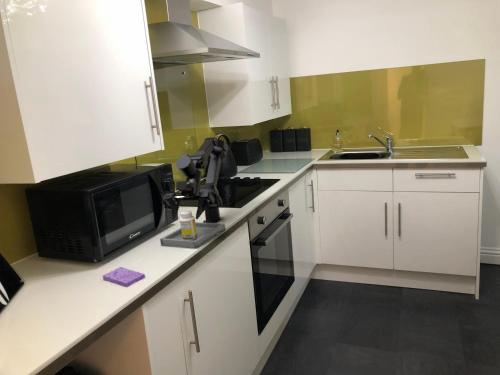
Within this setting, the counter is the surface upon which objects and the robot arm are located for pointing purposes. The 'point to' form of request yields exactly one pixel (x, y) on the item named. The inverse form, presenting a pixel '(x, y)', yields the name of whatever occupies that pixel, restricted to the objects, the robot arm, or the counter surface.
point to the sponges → (123, 276)
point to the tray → (203, 235)
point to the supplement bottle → (188, 226)
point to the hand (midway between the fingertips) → (184, 219)
